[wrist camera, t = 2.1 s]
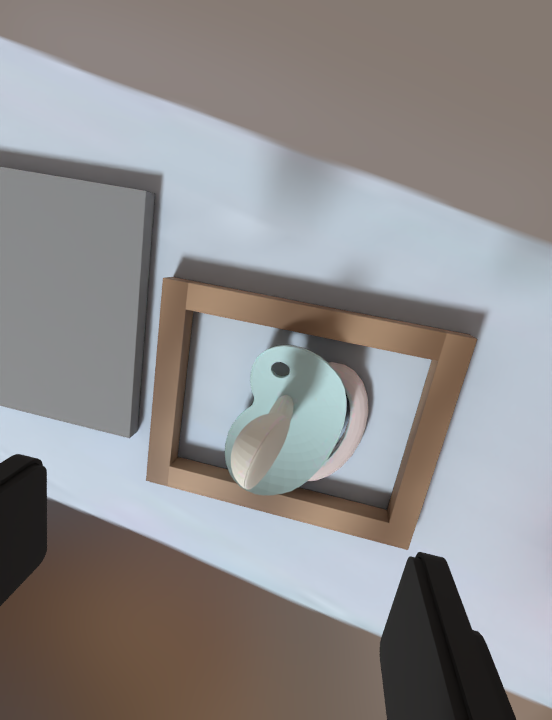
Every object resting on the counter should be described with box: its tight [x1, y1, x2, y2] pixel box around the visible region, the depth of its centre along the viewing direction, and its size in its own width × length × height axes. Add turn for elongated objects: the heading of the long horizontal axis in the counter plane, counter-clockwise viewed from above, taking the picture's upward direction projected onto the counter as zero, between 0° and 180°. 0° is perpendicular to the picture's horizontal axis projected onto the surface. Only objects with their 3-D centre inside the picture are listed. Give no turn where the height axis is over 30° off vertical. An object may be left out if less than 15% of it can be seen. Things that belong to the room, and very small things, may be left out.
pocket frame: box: [146, 277, 477, 550], centre depth 18 cm, size 14×11×1 cm
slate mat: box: [0, 167, 155, 438], centre depth 19 cm, size 14×12×1 cm
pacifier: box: [225, 345, 368, 495], centre depth 16 cm, size 7×6×6 cm
